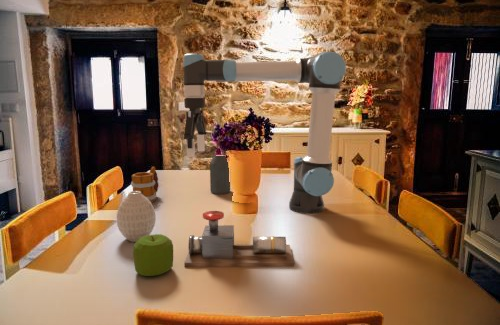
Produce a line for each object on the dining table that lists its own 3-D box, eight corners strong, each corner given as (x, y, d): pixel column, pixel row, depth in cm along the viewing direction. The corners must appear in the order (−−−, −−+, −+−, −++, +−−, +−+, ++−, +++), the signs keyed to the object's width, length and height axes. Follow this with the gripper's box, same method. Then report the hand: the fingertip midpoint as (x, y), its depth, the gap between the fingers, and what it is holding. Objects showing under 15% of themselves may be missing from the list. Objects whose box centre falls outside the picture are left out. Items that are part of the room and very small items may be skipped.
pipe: (284, 249, 116) (284, 233, 115) (286, 256, 111) (286, 240, 110) (252, 249, 116) (252, 233, 115) (252, 256, 111) (253, 240, 110)
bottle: (233, 192, 186) (233, 133, 181) (217, 195, 181) (216, 135, 175) (223, 188, 195) (222, 131, 189) (207, 191, 189) (206, 133, 184)
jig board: (289, 248, 120) (289, 241, 119) (294, 266, 107) (294, 259, 107) (191, 248, 120) (191, 241, 119) (184, 266, 107) (184, 259, 107)
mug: (126, 203, 169) (124, 171, 166) (148, 194, 184) (147, 164, 181) (145, 205, 165) (144, 173, 162) (167, 196, 180) (165, 166, 177)
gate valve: (234, 247, 117) (233, 209, 115) (232, 260, 109) (232, 219, 106) (192, 247, 117) (191, 209, 115) (188, 260, 109) (186, 219, 106)
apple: (153, 285, 97) (151, 246, 95) (125, 274, 102) (123, 237, 100) (182, 268, 106) (180, 232, 104) (155, 259, 111) (153, 225, 109)
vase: (121, 248, 119) (117, 199, 116) (115, 235, 130) (112, 190, 127) (160, 241, 125) (158, 194, 122) (152, 229, 136) (149, 185, 133)
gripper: (194, 96, 148) (196, 148, 152) (173, 97, 124) (175, 159, 128) (212, 96, 147) (213, 149, 151) (194, 97, 123) (196, 159, 127)
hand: (196, 154), depth 140 cm, fingers open, 13 cm apart
